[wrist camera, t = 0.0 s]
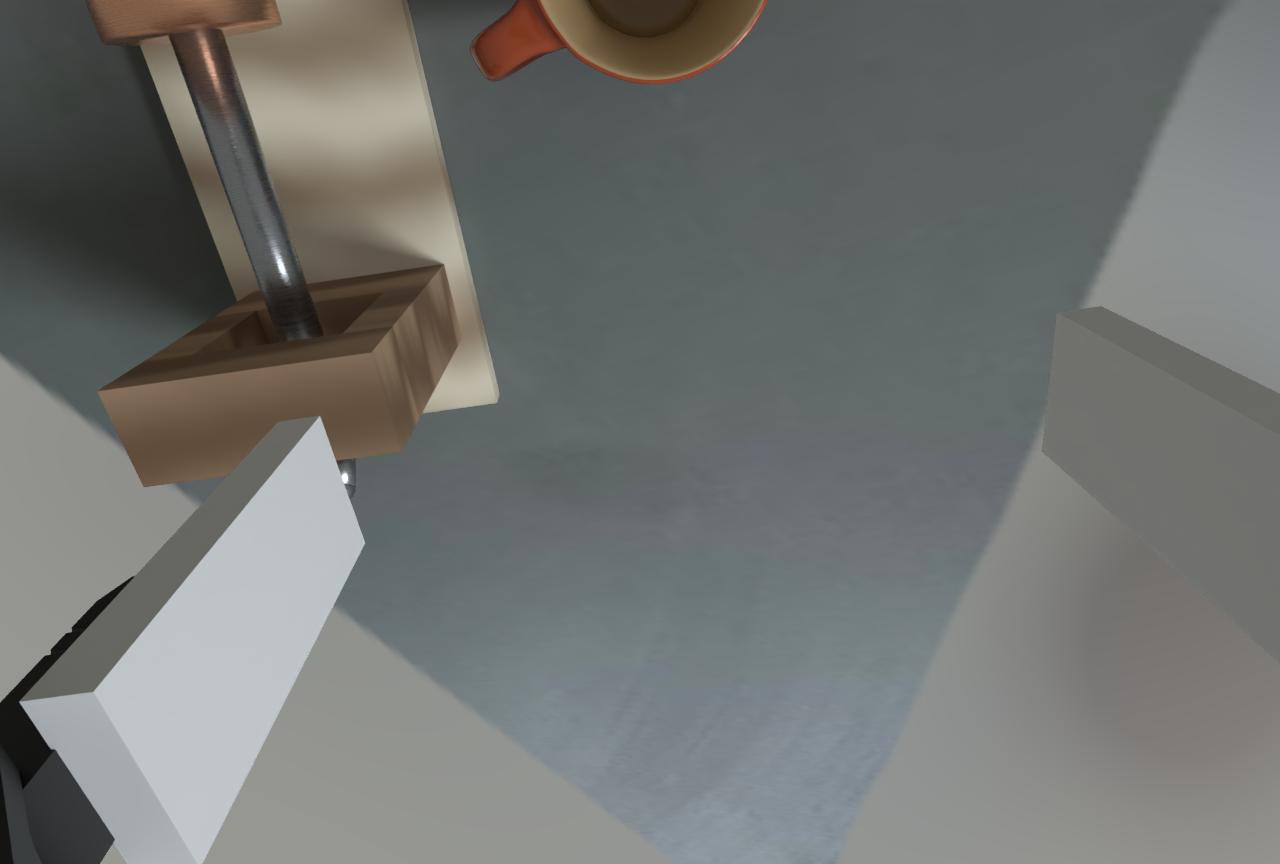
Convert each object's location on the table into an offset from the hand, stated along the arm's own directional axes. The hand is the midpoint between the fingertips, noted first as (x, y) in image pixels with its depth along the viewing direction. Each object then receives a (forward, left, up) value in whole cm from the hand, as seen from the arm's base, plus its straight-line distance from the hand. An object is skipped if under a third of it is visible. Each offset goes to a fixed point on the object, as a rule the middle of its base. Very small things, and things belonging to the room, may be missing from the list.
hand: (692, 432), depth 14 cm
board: (-3, -15, -28) cm, 32 cm away
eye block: (+4, -15, -27) cm, 31 cm away
